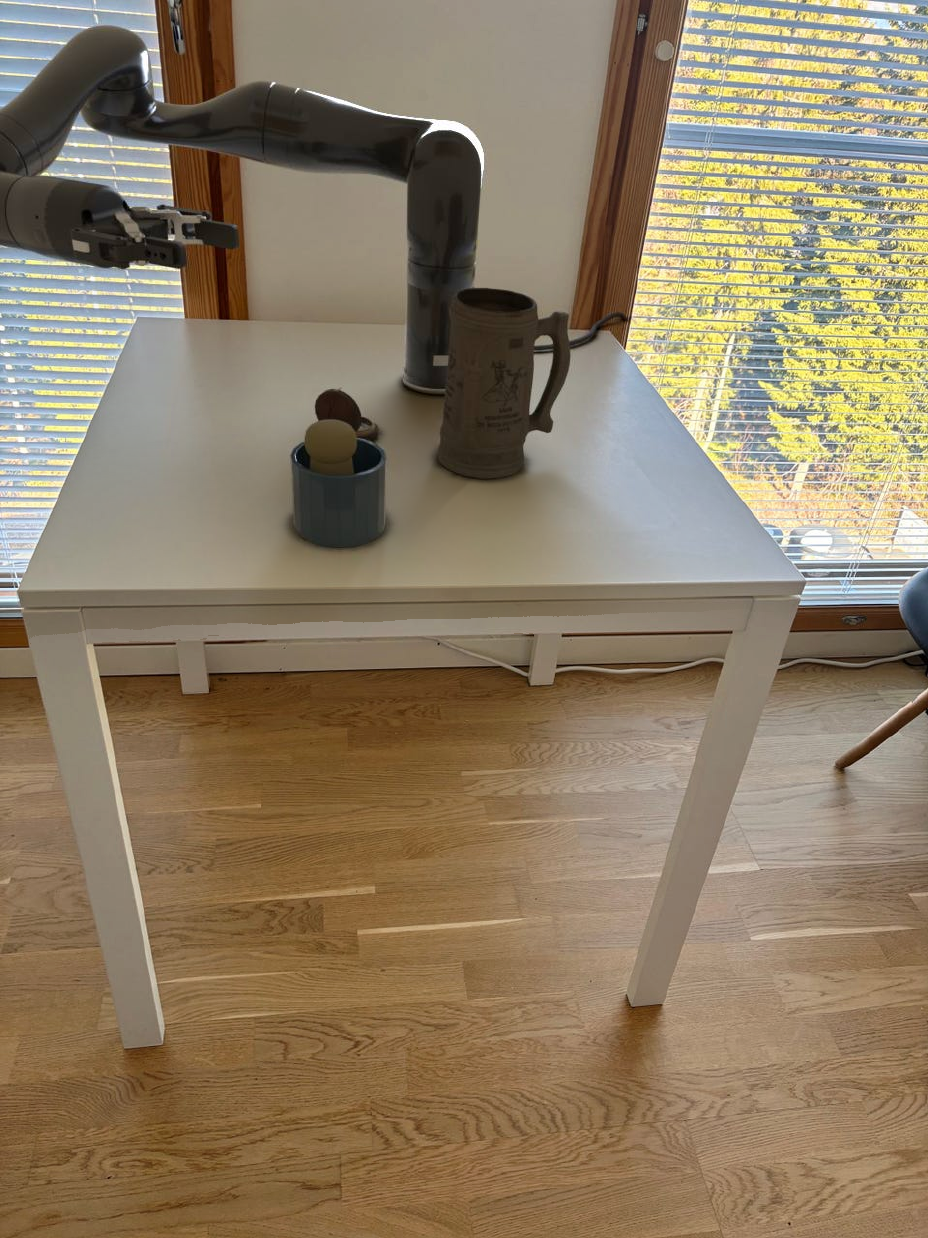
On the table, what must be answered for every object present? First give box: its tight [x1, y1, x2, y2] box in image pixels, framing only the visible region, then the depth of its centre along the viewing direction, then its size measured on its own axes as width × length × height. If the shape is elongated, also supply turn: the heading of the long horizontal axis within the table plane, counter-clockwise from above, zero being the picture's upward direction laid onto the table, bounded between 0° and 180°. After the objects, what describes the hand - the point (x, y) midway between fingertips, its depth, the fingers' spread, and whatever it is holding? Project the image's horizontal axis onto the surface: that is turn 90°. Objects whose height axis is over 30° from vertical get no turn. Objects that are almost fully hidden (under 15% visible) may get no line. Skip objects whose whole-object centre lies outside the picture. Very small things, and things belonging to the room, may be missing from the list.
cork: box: [303, 419, 357, 475], centre depth 92 cm, size 6×6×11 cm
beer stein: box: [437, 287, 572, 479], centre depth 107 cm, size 15×11×20 cm
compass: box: [314, 387, 379, 441], centre depth 113 cm, size 8×8×7 cm
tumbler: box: [289, 438, 388, 548], centre depth 94 cm, size 10×10×8 cm
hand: (211, 246), depth 85 cm, fingers open, 8 cm apart
